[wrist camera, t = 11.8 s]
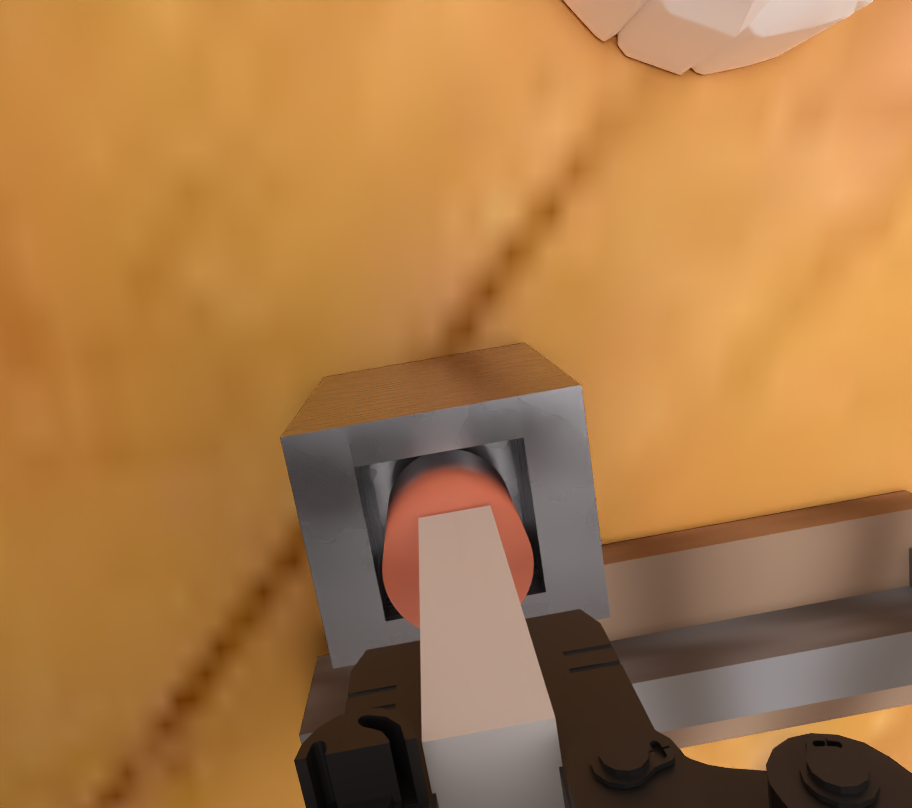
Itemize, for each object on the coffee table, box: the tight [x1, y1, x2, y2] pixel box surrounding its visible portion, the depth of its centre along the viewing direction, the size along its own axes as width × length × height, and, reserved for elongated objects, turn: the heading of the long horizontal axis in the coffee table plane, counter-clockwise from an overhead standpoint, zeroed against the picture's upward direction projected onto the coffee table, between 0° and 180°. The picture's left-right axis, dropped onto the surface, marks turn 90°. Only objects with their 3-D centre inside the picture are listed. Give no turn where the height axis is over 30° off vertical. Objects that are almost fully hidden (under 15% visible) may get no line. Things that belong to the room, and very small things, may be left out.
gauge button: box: [382, 450, 534, 628], centre depth 16 cm, size 3×3×4 cm
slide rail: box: [299, 491, 912, 748], centre depth 23 cm, size 23×8×6 cm, turn 99°
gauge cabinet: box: [280, 343, 610, 669], centre depth 20 cm, size 7×6×8 cm
